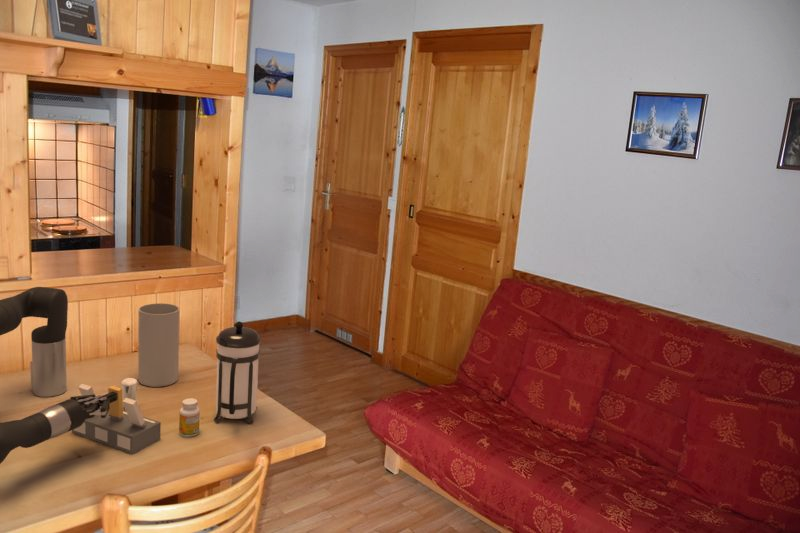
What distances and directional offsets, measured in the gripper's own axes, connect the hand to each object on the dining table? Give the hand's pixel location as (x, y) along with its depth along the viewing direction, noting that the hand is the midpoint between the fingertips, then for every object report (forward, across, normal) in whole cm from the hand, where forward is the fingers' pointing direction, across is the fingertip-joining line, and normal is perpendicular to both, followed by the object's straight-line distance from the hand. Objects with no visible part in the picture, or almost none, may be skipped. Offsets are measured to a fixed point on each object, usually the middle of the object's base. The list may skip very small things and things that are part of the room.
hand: (115, 395), depth 177 cm
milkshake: (+15, -11, -13) cm, 23 cm away
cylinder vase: (+35, -20, -13) cm, 42 cm away
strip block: (+1, -1, -12) cm, 12 cm away
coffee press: (+28, +18, -13) cm, 36 cm away
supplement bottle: (+13, +14, -13) cm, 23 cm away
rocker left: (0, -9, -6) cm, 11 cm away
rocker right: (+1, +7, -7) cm, 10 cm away
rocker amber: (+1, -1, -7) cm, 7 cm away
